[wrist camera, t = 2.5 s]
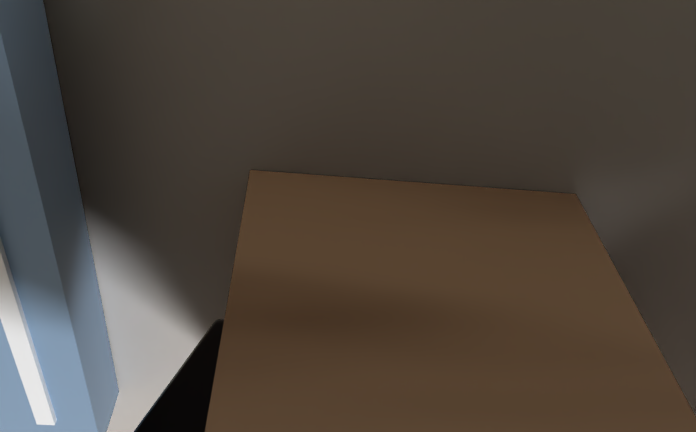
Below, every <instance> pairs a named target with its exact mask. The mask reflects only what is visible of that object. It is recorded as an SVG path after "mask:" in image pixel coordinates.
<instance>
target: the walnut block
mask: <svg viewBox="0 0 696 432" xmlns="http://www.w3.org/2000/svg"><path fill="white" fill-rule="evenodd" d="M205 432H696V416H695V414H694V412H693V411H692V409H691V407H690V405H689V403H688V401H687V399H686V398H685V396H684V394H683V392H682V390H681V388H680V386H679V385H678V383H677V381H676V379H675V377H674V375H673V373H672V372H671V370H670V368H669V366H668V364H667V362H666V360H665V359H664V357H663V355H662V353H661V351H660V349H659V347H658V346H657V344H656V342H655V340H654V338H653V336H652V335H651V333H650V331H649V329H648V327H647V325H646V323H645V322H644V320H643V318H642V316H641V314H640V312H639V310H638V309H637V307H636V305H635V303H634V301H633V299H632V297H631V296H630V294H629V292H628V290H627V288H626V286H625V284H624V283H623V281H622V279H621V277H620V275H619V273H618V271H617V270H616V268H615V266H614V264H613V262H612V260H611V258H610V257H609V255H608V253H607V251H606V249H605V247H604V245H603V244H602V242H601V240H600V238H599V236H598V234H597V232H596V231H595V229H594V227H593V225H592V223H591V221H590V219H589V218H588V216H587V214H586V212H585V210H584V208H583V206H582V205H581V203H580V201H579V199H578V197H577V195H576V194H569V193H556V192H542V191H528V190H515V189H501V188H488V187H474V186H461V185H447V184H434V183H420V182H406V181H393V180H379V179H366V178H352V177H339V176H325V175H311V174H298V173H284V172H271V171H257V170H250V174H249V180H248V185H247V191H246V197H245V203H244V208H243V214H242V220H241V226H240V232H239V237H238V243H237V249H236V255H235V260H234V266H233V272H232V278H231V283H230V289H229V295H228V301H227V307H226V312H225V318H224V324H223V330H222V335H221V341H220V347H219V353H218V359H217V364H216V370H215V376H214V382H213V387H212V393H211V399H210V405H209V411H208V416H207V422H206V428H205Z"/></svg>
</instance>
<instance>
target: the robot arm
mask: <svg viewBox="0 0 696 432" xmlns="http://www.w3.org/2000/svg"><path fill="white" fill-rule="evenodd" d="M223 324H224V319H218V320H216V321H215V322H214V323H213V324H212V326H211V327H210V328H209V330H208V331H207V332H206V334H205V335H204V337H203V338H202V339H201V341H200V342H199V343H198V345H197V346H196V347H195V349H194V350H193V352H192V353H191V354H190V356H189V357H188V358H187V360H186V361H185V362H184V364H183V365H182V367H181V368H180V369H179V371H178V372H177V373H176V375H175V376H174V377H173V379H172V380H171V382H170V383H169V384H168V386H167V387H166V388H165V390H164V391H163V393H162V394H161V395H160V397H159V398H158V399H157V401H156V402H155V403H154V405H153V406H152V408H151V409H150V410H149V412H148V413H147V414H146V416H145V417H144V418H143V420H142V421H141V423H140V424H139V425H138V427H137V428H136V429H135V431H134V432H205V428H206V422H207V416H208V411H209V405H210V399H211V393H212V387H213V382H214V376H215V370H216V364H217V359H218V353H219V347H220V341H221V335H222V330H223Z"/></svg>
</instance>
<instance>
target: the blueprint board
mask: <svg viewBox="0 0 696 432" xmlns="http://www.w3.org/2000/svg"><path fill="white" fill-rule="evenodd" d="M118 393H119V390H118V384H117V379H116V374H115V369H114V364H113V359H112V353H111V348H110V343H109V338H108V333H107V328H106V323H105V317H104V312H103V307H102V302H101V297H100V292H99V286H98V281H97V276H96V271H95V266H94V261H93V255H92V250H91V245H90V240H89V235H88V230H87V225H86V219H85V214H84V209H83V204H82V199H81V194H80V188H79V183H78V178H77V173H76V168H75V163H74V157H73V152H72V147H71V142H70V137H69V132H68V126H67V121H66V116H65V111H64V106H63V101H62V96H61V90H60V85H59V80H58V75H57V70H56V65H55V59H54V54H53V49H52V44H51V39H50V34H49V28H48V23H47V18H46V13H45V8H44V3H43V0H0V432H106V431H107V428H108V425H109V422H110V419H111V416H112V412H113V409H114V406H115V403H116V400H117V396H118Z"/></svg>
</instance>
